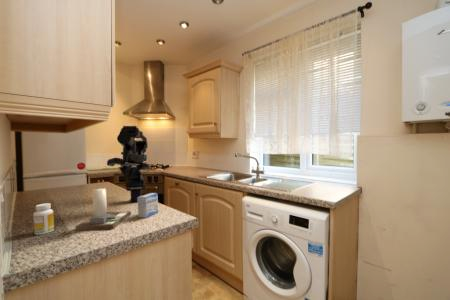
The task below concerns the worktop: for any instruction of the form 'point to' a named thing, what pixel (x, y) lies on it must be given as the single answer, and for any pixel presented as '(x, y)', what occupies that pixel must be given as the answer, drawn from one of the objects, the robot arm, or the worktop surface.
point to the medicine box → (147, 205)
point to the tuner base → (107, 225)
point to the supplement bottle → (43, 219)
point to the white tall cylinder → (100, 207)
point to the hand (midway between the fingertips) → (128, 182)
